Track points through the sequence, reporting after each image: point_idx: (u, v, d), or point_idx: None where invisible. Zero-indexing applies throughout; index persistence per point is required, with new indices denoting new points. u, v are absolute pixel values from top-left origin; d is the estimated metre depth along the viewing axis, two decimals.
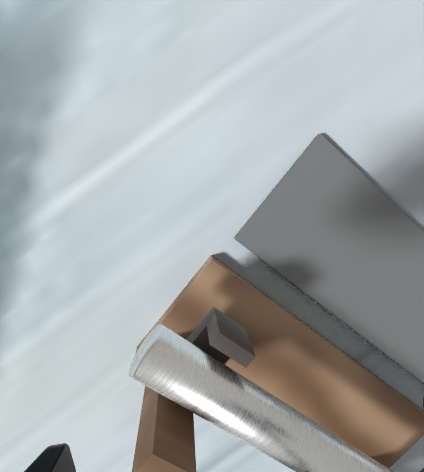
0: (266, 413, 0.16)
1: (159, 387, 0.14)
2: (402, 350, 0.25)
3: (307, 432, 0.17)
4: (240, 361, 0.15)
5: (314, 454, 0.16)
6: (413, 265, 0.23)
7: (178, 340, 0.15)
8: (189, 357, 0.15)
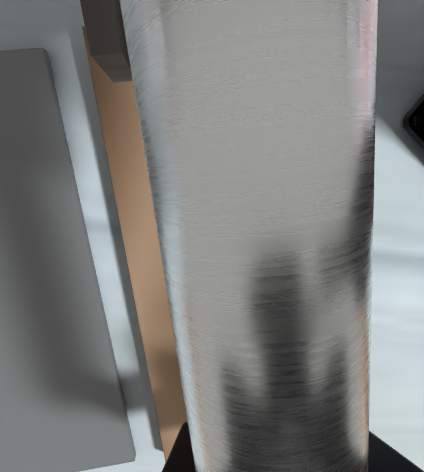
0: None
1: None
2: (53, 202, 0.15)
3: None
4: None
5: None
6: None
7: None
8: None
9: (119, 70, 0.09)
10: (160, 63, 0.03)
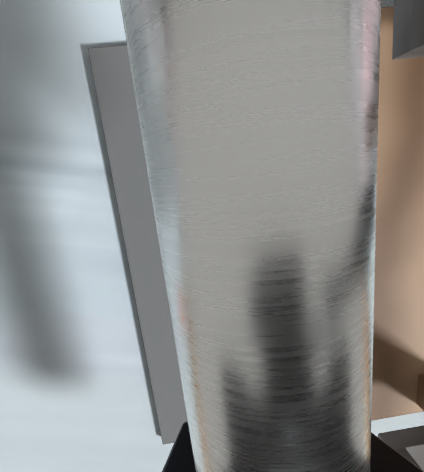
0: None
1: None
2: None
3: None
4: None
5: None
6: None
7: None
8: None
9: None
10: (161, 64, 0.03)
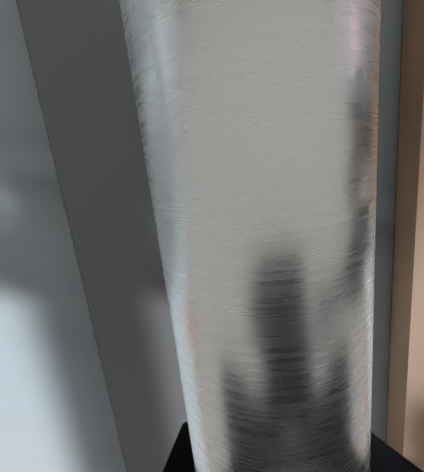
0: None
1: None
2: None
3: None
4: None
5: None
6: (166, 344, 0.11)
7: None
8: None
9: None
10: (160, 64, 0.03)
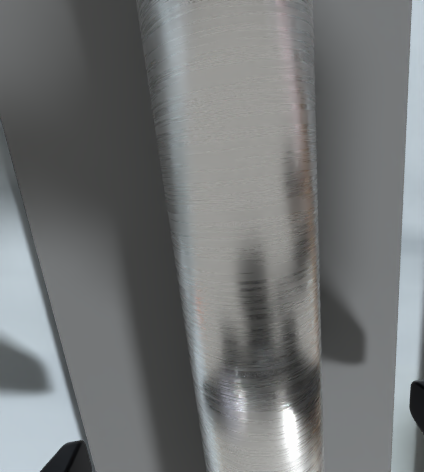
0: None
1: None
2: (360, 196, 0.08)
3: None
4: None
5: None
6: (165, 395, 0.08)
7: None
8: None
9: None
10: (175, 99, 0.04)
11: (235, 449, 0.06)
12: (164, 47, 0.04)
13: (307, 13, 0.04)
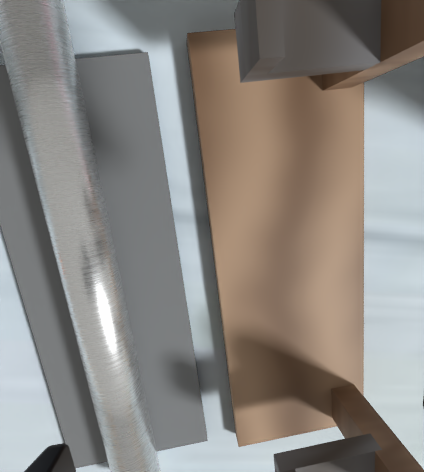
0: (100, 426, 0.17)
1: None
2: (148, 194, 0.17)
3: None
4: None
5: (90, 371, 0.16)
6: None
7: None
8: None
9: (260, 72, 0.11)
10: (32, 164, 0.13)
11: (68, 293, 0.15)
12: (27, 148, 0.13)
13: (71, 135, 0.13)
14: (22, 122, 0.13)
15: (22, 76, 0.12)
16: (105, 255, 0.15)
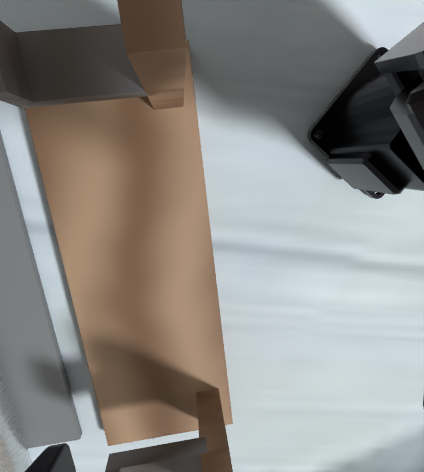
0: None
1: None
2: None
3: None
4: None
5: None
6: None
7: None
8: None
9: (18, 101, 0.12)
10: None
11: None
12: None
13: None
14: None
15: None
16: None
